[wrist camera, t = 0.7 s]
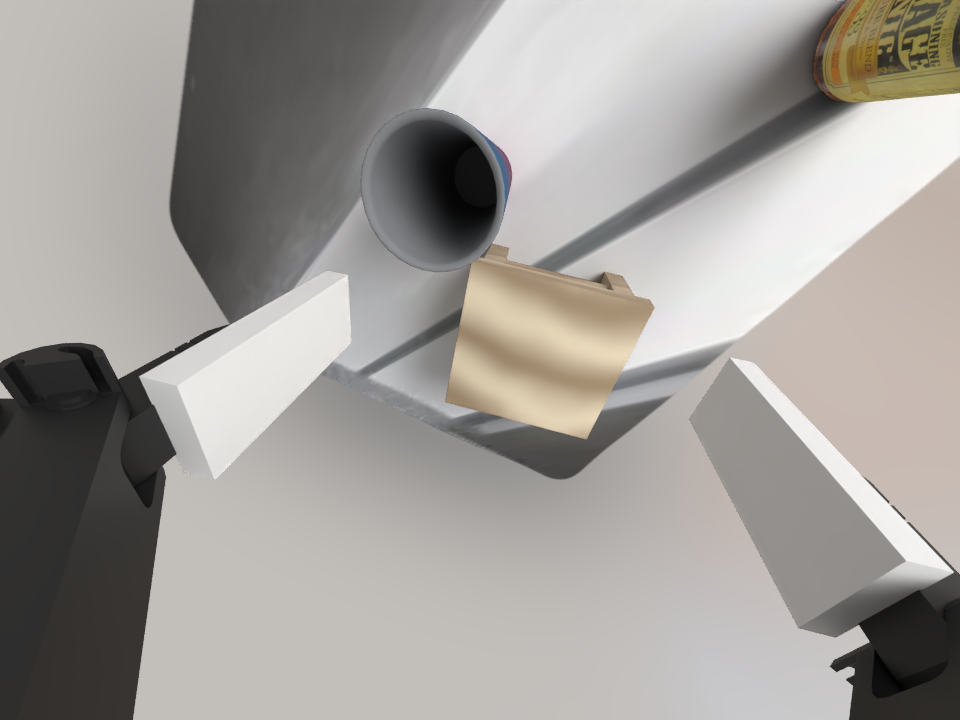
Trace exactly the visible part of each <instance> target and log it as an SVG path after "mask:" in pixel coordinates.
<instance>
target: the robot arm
mask: <svg viewBox="0 0 960 720" xmlns="http://www.w3.org/2000/svg"><path fill="white" fill-rule="evenodd" d="M350 343H351V324H350V304H349V284H348V275H347V274H342V273H337V272H333V271H328V270H327V271H325V272H323V273H321V274H320V275H318V276H316V277H314V278H313V279H311V280H309V281H307V282H305V283H304V284H302V285H300V286H298V287H297V288H295V289H293V290H291V291H290V292H288V293H286V294H284V295H282V296H281V297H279V298H277V299H275V300H274V301H272V302H270V303H268V304H267V305H265V306H263V307H261V308H259V309H258V310H256V311H254V312H252V313H251V314H249V315H247V316H245V317H244V318H242V319H240V320H238V321H236V322H235V323H233V324H229V325H225V326H222V327H219V328H215V329H212V330H209V331H206V332H204V333H203V334H201V335H199V336H197V337H195V338H194V339H192V340H190V342H189V343H184V344H182V345H181V346H179V347H177V348H175V351H170V352H168V353H166V354H164V355H162V356H160V357H159V358H157V359H155V360H153V361H151V362H149V363H148V364H146V365H144V366H142V367H140V368H138V369H137V370H135V371H133V372H131V373H129V374H127V375H126V376H124V377H122V378H120V379H117V377H116V375H115V373H114V371H113V369H112V367H111V365H110V363H109V361H108V359H107V357H106V355H105V353H104V351H103V350H102V349H100V348H99V347H97V346H95V345H91V344H84V343H65V344H64V343H63V344H57V345H50V346H44V347H39V348H36V349H32V350H29V351H25V352H22V353H19V354H17V355H15V356H12V357H10V358H8V359H6V360H3V361H2V362H1V363H0V381H1V382H2V383H3V385H4V386H5V388H6V389H7V390H8V392H9V393H10V394H11V396H12V397H13V398H14V399H0V720H133V714H134V706H135V699H136V692H137V685H138V678H139V670H140V663H141V656H142V648H143V641H144V634H145V626H146V619H147V612H148V604H149V597H150V590H151V582H152V575H153V568H154V560H155V553H156V546H157V538H158V531H159V524H160V517H161V509H162V502H163V495H164V487H165V480H166V475H165V471H164V468H163V465H164V464H165V463H166V462H167V461H169V460H170V459H171V458H172V457H173V456H175V455H176V456H177V459H178V461H179V463H180V465H181V467H182V469H183V472H185V473H189V474H193V475H197V476H201V477H205V478H209V479H213V480H215V479H216V478H217V477H218V476H219V475H220V474H221V473H222V472H223V471H224V470H225V469H226V468H227V467H228V466H229V465H230V464H231V463H232V462H233V461H234V460H235V459H236V458H237V457H238V456H239V455H240V454H241V453H242V452H243V451H244V450H245V449H246V448H247V447H248V446H249V445H250V444H251V443H252V442H253V441H254V440H255V439H256V438H257V437H258V436H259V435H260V434H261V433H262V432H263V431H264V430H265V429H266V428H267V427H268V426H269V425H270V424H271V423H272V422H273V421H274V420H275V419H276V418H277V417H278V416H279V415H280V414H281V413H282V412H283V411H284V410H285V409H286V408H287V407H288V406H289V405H290V404H291V403H292V402H293V401H294V400H295V399H296V398H297V397H298V396H299V395H300V394H301V393H302V392H303V391H304V390H305V389H306V388H307V387H308V386H309V385H310V384H311V383H312V382H313V381H314V380H315V379H316V378H317V377H318V376H319V375H320V374H321V373H322V372H323V371H324V370H325V369H326V368H327V367H328V366H329V365H330V364H331V363H332V362H333V361H334V360H335V359H336V358H337V357H338V356H339V355H340V354H341V353H342V352H343V351H344V350H345V349H346V348H347V346H348V345H349V344H350ZM689 420H690V422H691V424H692V426H693V428H694V429H695V431H696V433H697V435H698V437H699V439H700V441H701V443H702V445H703V447H704V448H705V451H706V453H707V454H708V456H709V458H710V460H711V462H712V464H713V466H714V468H715V470H716V472H717V473H718V475H719V477H720V479H721V481H722V483H723V485H724V487H725V489H726V491H727V493H728V495H729V496H730V498H731V500H732V502H733V504H734V506H735V508H736V510H737V512H738V514H739V516H740V517H741V519H742V521H743V523H744V525H745V527H746V529H747V531H748V533H749V535H750V537H751V539H752V540H753V542H754V544H755V546H756V548H757V550H758V552H759V554H760V556H761V557H762V559H763V561H764V563H765V565H766V567H767V569H768V571H769V573H770V575H771V577H772V578H773V580H774V582H775V584H776V586H777V588H778V590H779V592H780V594H781V596H782V598H783V600H784V602H785V603H786V605H787V607H788V609H789V611H790V613H791V615H792V617H793V619H794V621H795V622H796V624H797V626H798V628H800V629H804V630H808V631H812V632H816V633H820V634H824V635H828V636H832V637H838V636H839V635H841V634H843V633H844V632H847V631H848V630H850V629H852V628H854V627H856V626H857V625H860V627H861V629H862V630H863V632H864V633H865V635H866V636H867V638H868V639H869V641H870V642H869V643H867V644H865V645H863V646H861V647H859V648H857V649H855V650H853V651H851V652H850V653H847V654H845V655H843V656H842V657H839V658H838V659H835V660H834V661H833V663H832V664H831V666H830V667H831V668H832V669H834V670H835V671H836V672H838V671H839V670H842V669H844V668H846V667H852V668H855V674H854V676H852V677H850V678H847V679H846V680H847V681H848V682H849V683H850V684H852V685H853V691H852V700H851V709H850V717H849V720H960V574H959V573H958V572H957V571H956V570H955V569H954V568H953V567H952V566H951V565H950V564H949V563H948V562H947V561H946V560H945V559H944V558H943V557H942V556H941V555H940V554H939V553H938V551H937V550H936V549H935V548H934V547H933V546H932V545H931V544H930V543H929V542H928V541H927V540H926V539H925V538H924V537H923V536H922V535H921V534H920V533H919V532H918V531H917V530H916V529H915V528H914V527H913V526H912V525H911V523H909V522H905V517H904V516H903V515H902V514H901V513H900V512H899V511H898V510H897V509H896V508H895V507H894V506H892V505H889V501H888V500H887V499H886V498H885V497H884V496H883V494H881V493H880V491H879V490H878V489H876V487H875V486H874V485H873V484H872V483H871V482H870V481H868V480H867V479H866V478H864V477H863V476H862V475H860V474H859V473H858V472H857V470H856V469H855V468H854V467H853V466H852V465H851V464H850V463H849V462H848V461H847V460H846V459H845V458H844V457H843V456H842V455H841V454H840V453H839V452H838V451H837V449H836V448H835V447H834V446H833V445H832V444H831V443H830V442H829V441H828V440H827V439H826V438H825V437H824V436H823V435H822V434H821V433H820V432H819V431H818V430H817V429H816V428H815V427H814V426H813V425H812V423H811V422H810V421H809V420H808V419H807V418H806V417H805V416H804V415H803V414H802V413H801V412H800V411H799V410H798V409H797V408H796V407H795V406H794V405H793V404H792V402H790V400H789V399H788V398H787V397H786V396H785V395H784V394H783V393H782V392H781V391H780V390H779V389H778V388H777V387H776V386H775V385H774V384H773V383H772V382H771V381H770V380H769V379H768V377H767V376H766V375H765V374H764V373H763V372H762V371H761V370H760V369H759V368H758V367H757V366H756V365H755V364H754V363H753V362H748V361H743V360H739V359H734V358H729V359H728V361H727V362H726V364H725V365H724V367H723V369H722V370H721V371H720V373H719V375H718V376H717V377H716V379H715V381H714V382H713V384H712V385H711V387H710V388H709V390H708V391H707V393H706V394H705V396H704V397H703V399H702V400H701V402H700V403H699V405H698V406H697V408H696V409H695V411H694V412H693V414H692V415H691V417H690V418H689Z"/></svg>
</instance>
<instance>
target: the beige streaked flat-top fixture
mask: <svg viewBox="0 0 960 720" xmlns="http://www.w3.org/2000/svg"><path fill="white" fill-rule="evenodd" d="M508 251H509V248H507V247H503V246H499V245H495V244H492V245H491V246H490V248H489V250H488V252H487V254H486V255H485V257H484V258H481V257H479V258H478V259H476V260H475V261H474V262H473V263H471V268H470V273H469V279H468V284H467V289H466V294H465V300H464V305H463V310H462V316H461V321H460V326H459V332H458V337H457V342H456V347H455V353H454V358H453V363H452V369H451V374H450V379H449V384H448V390H447V395H446V400H445V402H447V403H451V404H455V405H458V406H462V407H466V408H470V409H473V410H477V411H481V412H485V413H489V414H492V415H496V416H500V417H504V418H508V419H511V420H515V421H519V422H523V423H527V424H530V425H534V426H538V427H542V428H546V429H549V430H553V431H557V432H561V433H565V434H568V435H572V436H576V437H580V438H584V439H587V437H588V435H589V433H590V431H591V429H592V427H593V425H594V423H595V422H596V420H597V418H598V416H599V414H600V412H601V410H602V408H603V406H604V404H605V402H606V400H607V398H608V396H609V394H610V393H611V391H612V389H613V387H614V385H615V383H616V381H617V379H618V377H619V375H620V373H621V371H622V369H623V367H624V366H625V364H626V362H627V360H628V358H629V356H630V354H631V352H632V350H633V348H634V346H635V344H636V342H637V340H638V338H639V337H640V335H641V333H642V331H643V329H644V327H645V325H646V323H647V321H648V319H649V317H650V315H651V313H652V311H653V310H654V308H655V307H654V305H653V304H652V303H651V301H650V300H649V299H645V298H641V297H637V296H634V294H633V293H632V291H631V289H630V288H629V286H628V284H627V283H626V281H625V280H624V278H623V276H619V275H615V274H611V273H607V272H605V273H604V275H603V278H602V280H601V283H596V282H592V281H588V280H584V279H580V278H576V277H572V276H568V275H564V274H560V273H556V272H552V271H548V270H544V269H540V268H536V267H532V266H528V265H524V264H520V263H516V262H512V261H508V260H506V259H507V255H508Z"/></svg>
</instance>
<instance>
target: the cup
mask: <svg viewBox="0 0 960 720" xmlns="http://www.w3.org/2000/svg"><path fill="white" fill-rule="evenodd" d="M511 180H512V171H511V166H510V163H509V160H508V158H507V157H506V155H505V153H504V152H503V151H502V150H501V149H500V148H499V147H498V146H496V145H495V144H494V143H493V142H492V141H490V140H489V139H488V138H487V137H485V136H484V135H483V134H482V133H481V132H479V131H478V130H477V129H476V128H475V127H473V126H472V125H471V124H469V123H468V122H466V121H465V120H463V119H462V118H460V117H459V116H456V115H454V114H451V113H449V112H446V111H443V110H437V109H430V108H424V109H416V110H410V111H408V112H405V113H402V114H400V115H397V116H396V117H394V118H393V119H392V120H390V121H389V122H387V123H386V124H385V125H384V126H383V127H382V128H381V129H380V130H379V132H378V133H377V134H376V135H375V136H374V138H373V140H372V142H371V144H370V145H369V147H368V149H367V152H366V155H365V158H364V162H363V165H362V173H361V194H362V200H363V205H364V209H365V213H366V215H367V218H368V220H369V222H370V225H371V227H372V229H373V230H374V232H375V233H376V235H377V237H378V238H379V240H380V241H381V242H382V243H383V244H384V246H385V247H386V248H387V249H388V250H389V251H390V252H391V253H393V254H394V255H395V256H396V257H397V258H398V259H400V260H402V261H403V262H405V263H407V264H409V265H410V266H413V267H416V268H418V269H421V270H426V271H432V272H449V271H453V270H457V269H461V268H463V267H465V266H467V265H469V264H471V263H473V262H474V261H475V260H476V259H478V258H479V257H480V256H482V255H483V254H484V252H485V251H486V250H487V249H488V248H489V247H490V245H491V244H492V242H493V240H494V239H495V237H496V235H497V233H498V231H499V228H500V225H501V222H502V219H503V216H504V211H505V207H506V203H507V199H508V195H509V191H510V186H511Z"/></svg>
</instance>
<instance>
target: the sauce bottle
mask: <svg viewBox="0 0 960 720" xmlns="http://www.w3.org/2000/svg"><path fill="white" fill-rule="evenodd" d="M813 62H814V67H813V77H814V79H815V82H816V84H817V85H818V87H820V89H821V90H822V91H823V92H824V93H825V94H826V95H827V96H828V97H829V98H831V99H833V100H837V101H848V102H854V103H860V102H873V101H884V100H893V99H903V98H912V97H923V96H934V95H944V94H955V93H960V0H847V2H845V3H844V4H843V5H842V7H840V8H839V10H838V11H837V12H836V13H835V14H834V15H833V17H832V18H831V19H830V21H829V24H828V25H827V26H826V28H825V29H824V30H823V32H822V34H821V37H820V40H819V42H818V45H817V49H816V52H815V58H814V61H813Z"/></svg>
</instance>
